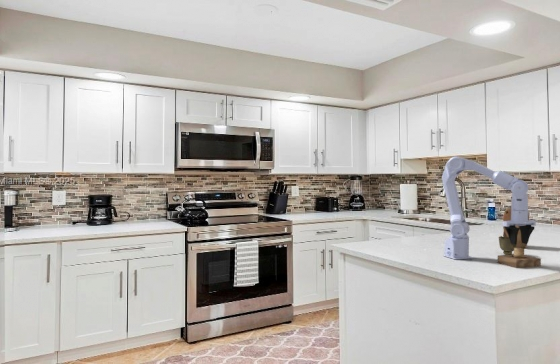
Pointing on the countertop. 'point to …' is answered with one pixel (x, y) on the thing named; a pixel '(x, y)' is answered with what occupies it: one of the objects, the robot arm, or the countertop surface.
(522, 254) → the peg
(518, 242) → the block
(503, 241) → the cup
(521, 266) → the board
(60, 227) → the countertop surface
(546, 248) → the countertop surface
